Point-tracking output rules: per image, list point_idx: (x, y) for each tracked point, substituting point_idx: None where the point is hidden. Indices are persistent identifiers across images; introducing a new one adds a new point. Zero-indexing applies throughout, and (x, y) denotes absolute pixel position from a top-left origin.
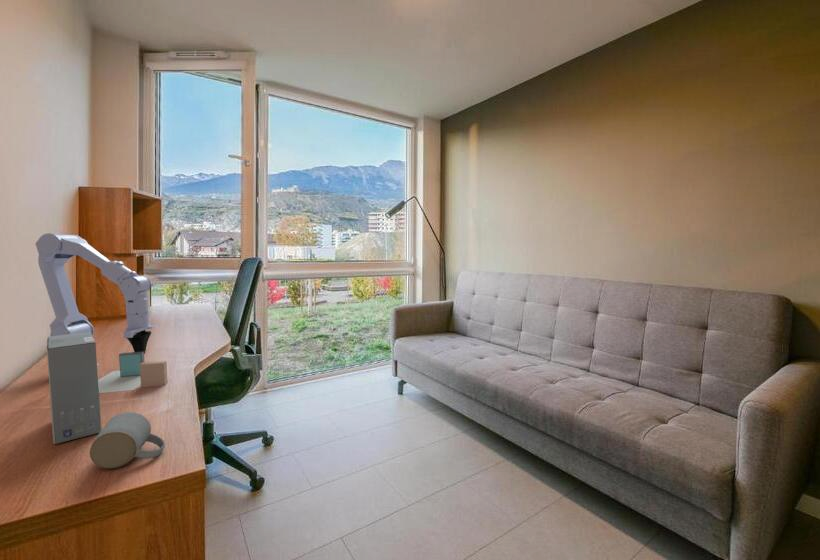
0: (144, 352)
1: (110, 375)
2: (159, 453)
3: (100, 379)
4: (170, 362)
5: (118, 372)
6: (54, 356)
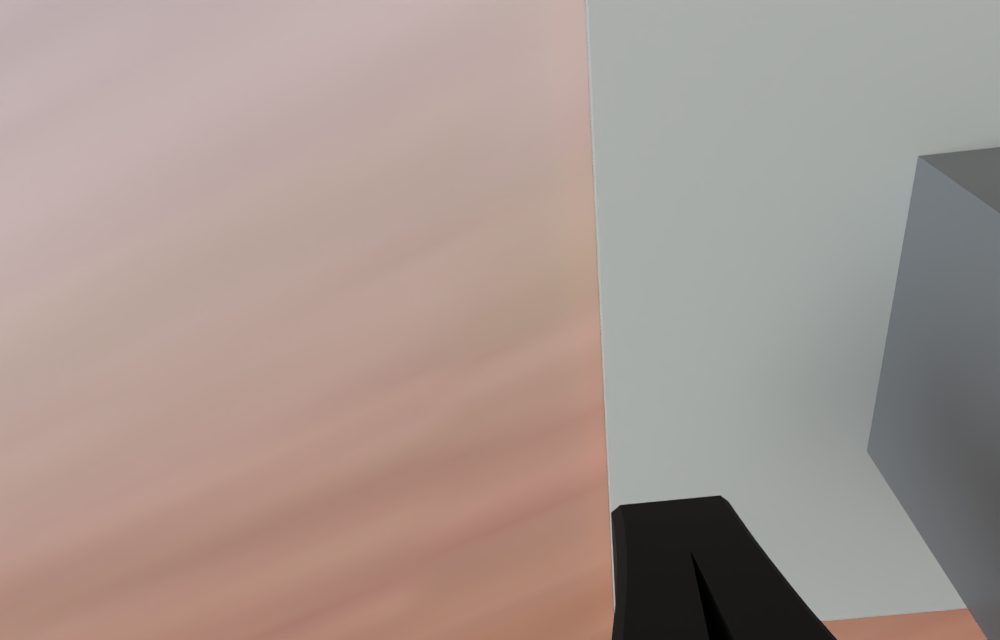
0: (675, 530)
1: (820, 578)
2: None
3: None
4: (100, 42)
5: None
6: None
